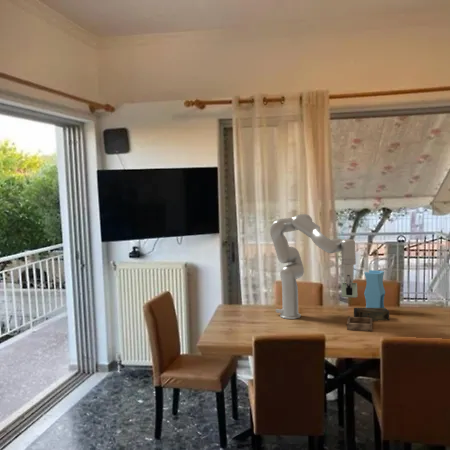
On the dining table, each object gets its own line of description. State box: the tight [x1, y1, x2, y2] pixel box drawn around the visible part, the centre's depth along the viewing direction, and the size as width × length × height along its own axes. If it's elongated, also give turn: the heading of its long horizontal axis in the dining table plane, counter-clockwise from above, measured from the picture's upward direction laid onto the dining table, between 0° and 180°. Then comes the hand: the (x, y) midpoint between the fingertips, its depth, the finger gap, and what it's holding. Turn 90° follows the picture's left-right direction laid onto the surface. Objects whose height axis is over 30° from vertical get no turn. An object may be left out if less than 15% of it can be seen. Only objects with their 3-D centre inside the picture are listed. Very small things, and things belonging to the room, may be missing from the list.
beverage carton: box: [353, 307, 390, 322], centre depth 266 cm, size 8×19×7 cm, turn 86°
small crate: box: [341, 282, 358, 299], centre depth 252 cm, size 8×6×7 cm
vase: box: [363, 269, 386, 308], centre depth 282 cm, size 10×10×25 cm
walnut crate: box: [346, 316, 373, 332], centre depth 251 cm, size 13×14×4 cm
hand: (349, 293), depth 252 cm, fingers closed on small crate, 6 cm apart
